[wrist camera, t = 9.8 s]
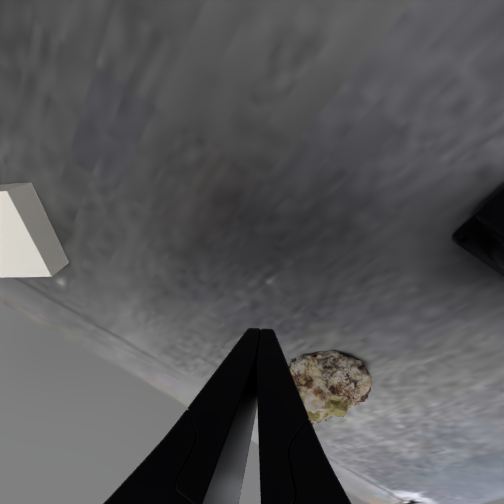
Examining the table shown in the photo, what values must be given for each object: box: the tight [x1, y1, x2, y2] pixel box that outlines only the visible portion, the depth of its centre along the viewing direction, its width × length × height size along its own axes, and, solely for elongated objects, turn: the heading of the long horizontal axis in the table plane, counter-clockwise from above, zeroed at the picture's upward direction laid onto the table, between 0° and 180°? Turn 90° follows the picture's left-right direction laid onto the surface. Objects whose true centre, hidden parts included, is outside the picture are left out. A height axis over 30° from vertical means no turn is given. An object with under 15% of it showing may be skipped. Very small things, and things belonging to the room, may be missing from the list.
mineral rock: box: [289, 350, 372, 424], centre depth 27 cm, size 11×4×8 cm
